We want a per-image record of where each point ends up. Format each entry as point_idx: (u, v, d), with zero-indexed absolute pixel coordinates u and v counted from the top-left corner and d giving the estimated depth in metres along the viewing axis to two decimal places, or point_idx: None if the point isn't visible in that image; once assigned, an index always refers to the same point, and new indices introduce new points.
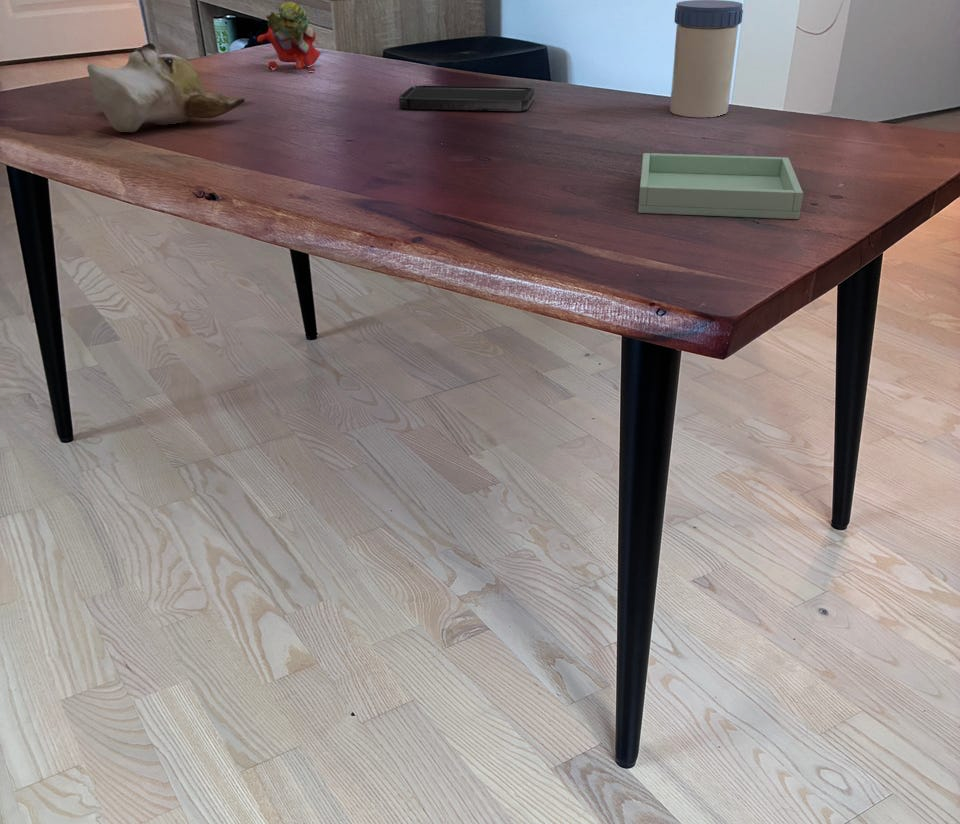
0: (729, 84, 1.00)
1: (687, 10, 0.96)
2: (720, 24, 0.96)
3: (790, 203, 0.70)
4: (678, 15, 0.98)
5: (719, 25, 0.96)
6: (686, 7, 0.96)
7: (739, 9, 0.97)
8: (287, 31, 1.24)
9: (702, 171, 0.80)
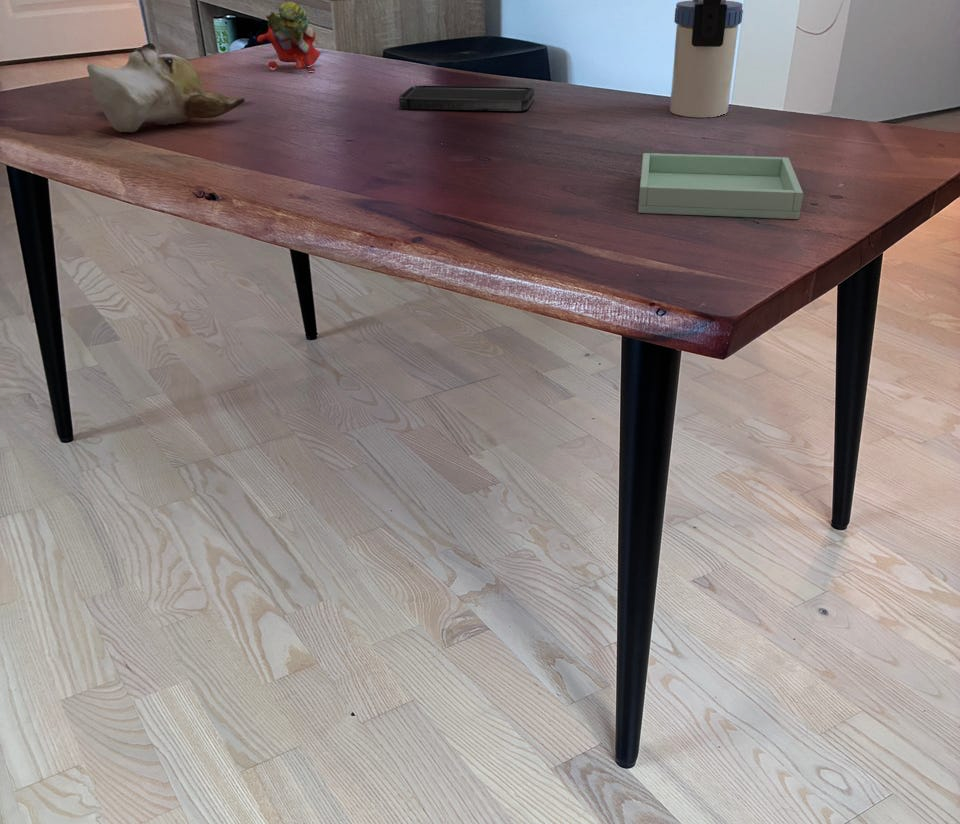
0: (729, 84, 1.00)
1: (687, 10, 0.96)
2: None
3: (790, 203, 0.70)
4: (678, 15, 0.98)
5: None
6: (686, 7, 0.96)
7: (739, 9, 0.97)
8: (287, 31, 1.24)
9: (702, 171, 0.80)
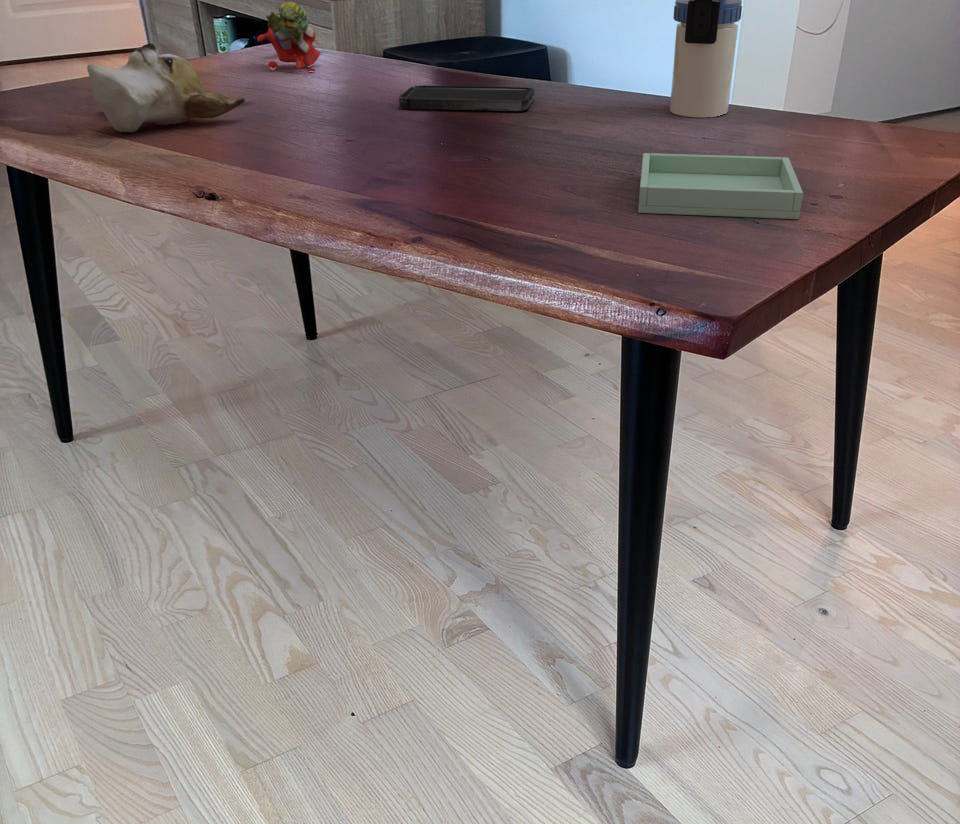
0: (729, 84, 1.00)
1: None
2: None
3: (790, 203, 0.70)
4: None
5: None
6: None
7: None
8: (287, 31, 1.24)
9: (702, 171, 0.80)
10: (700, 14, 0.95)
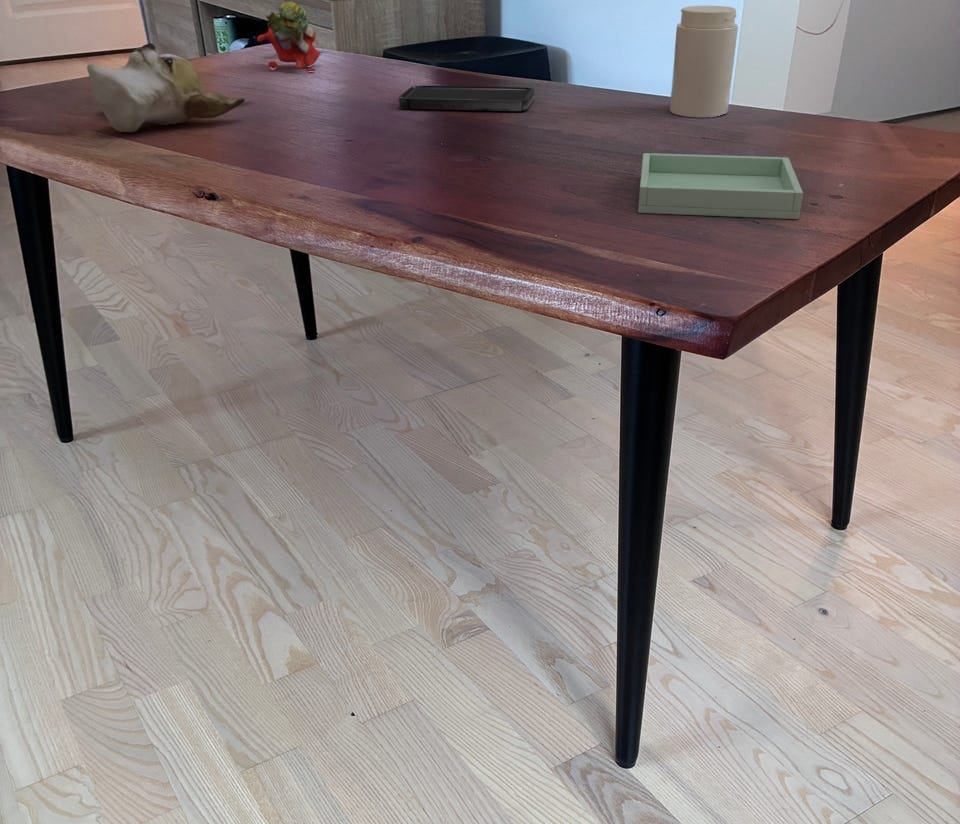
0: (729, 84, 1.00)
1: None
2: None
3: (790, 203, 0.70)
4: None
5: None
6: None
7: None
8: (287, 31, 1.24)
9: (702, 171, 0.80)
10: None
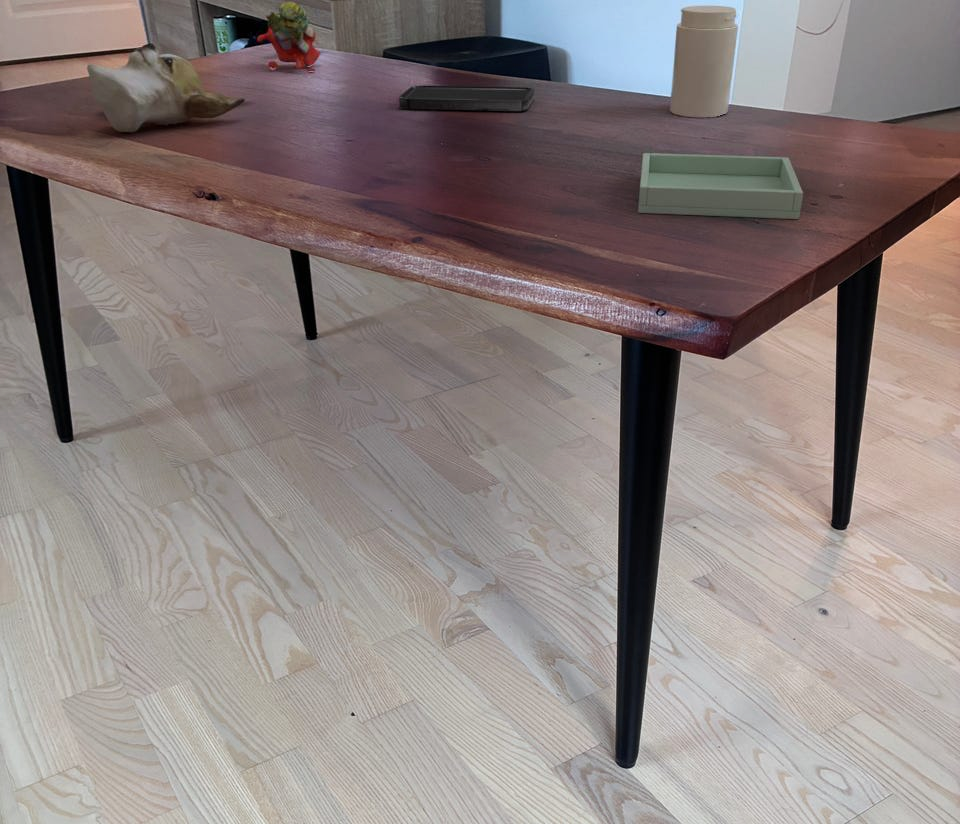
0: (729, 84, 1.00)
1: None
2: None
3: (790, 203, 0.70)
4: None
5: None
6: None
7: None
8: (287, 31, 1.24)
9: (702, 171, 0.80)
10: None
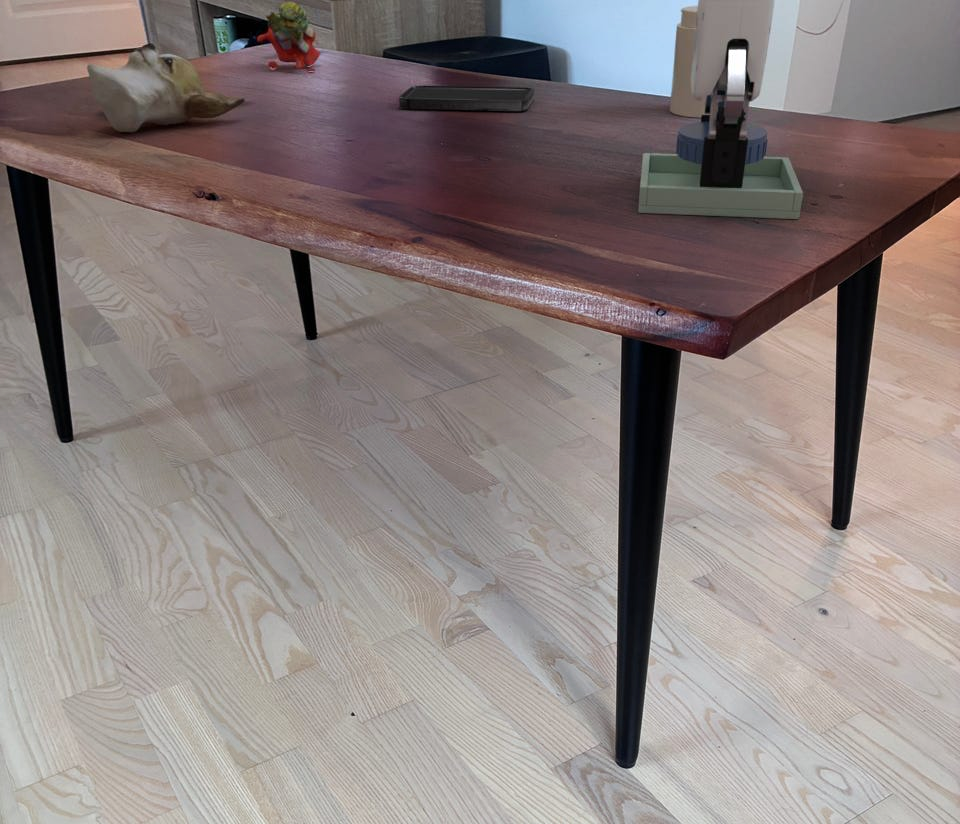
0: None
1: None
2: None
3: (790, 203, 0.70)
4: None
5: None
6: None
7: None
8: (287, 31, 1.24)
9: None
10: (722, 155, 0.70)
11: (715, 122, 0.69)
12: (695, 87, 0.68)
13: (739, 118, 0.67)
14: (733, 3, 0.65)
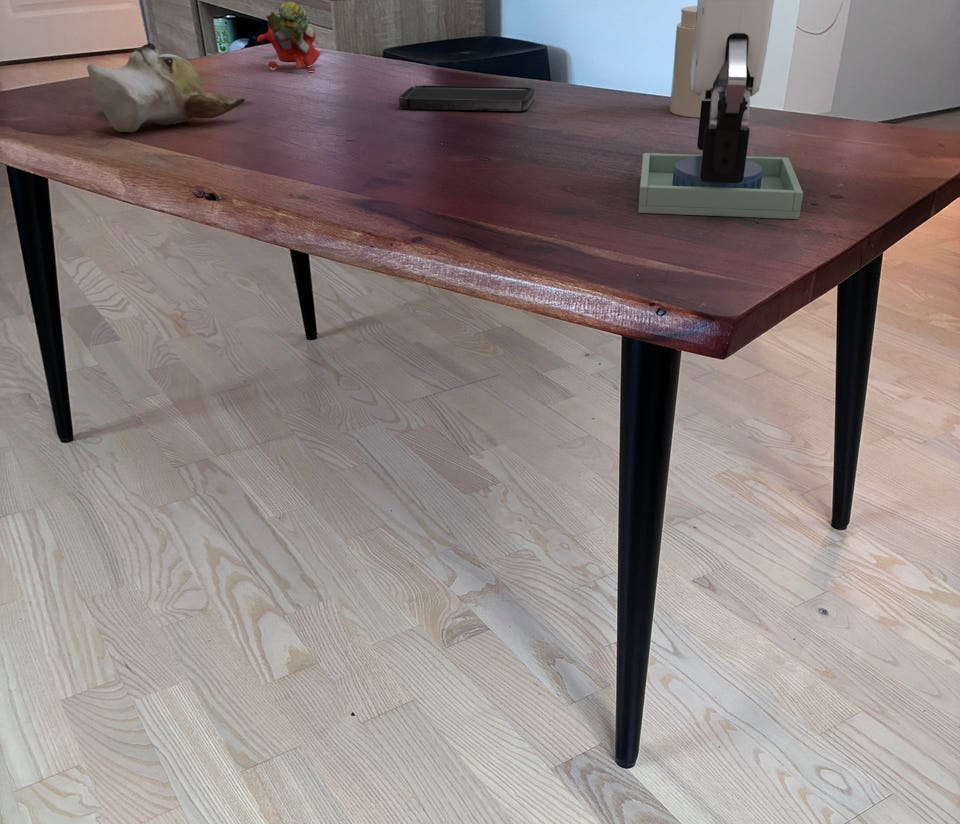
0: None
1: None
2: None
3: (790, 203, 0.70)
4: None
5: None
6: (746, 160, 0.77)
7: None
8: (287, 31, 1.24)
9: None
10: (723, 146, 0.69)
11: (716, 110, 0.68)
12: (695, 82, 0.68)
13: (741, 107, 0.65)
14: None
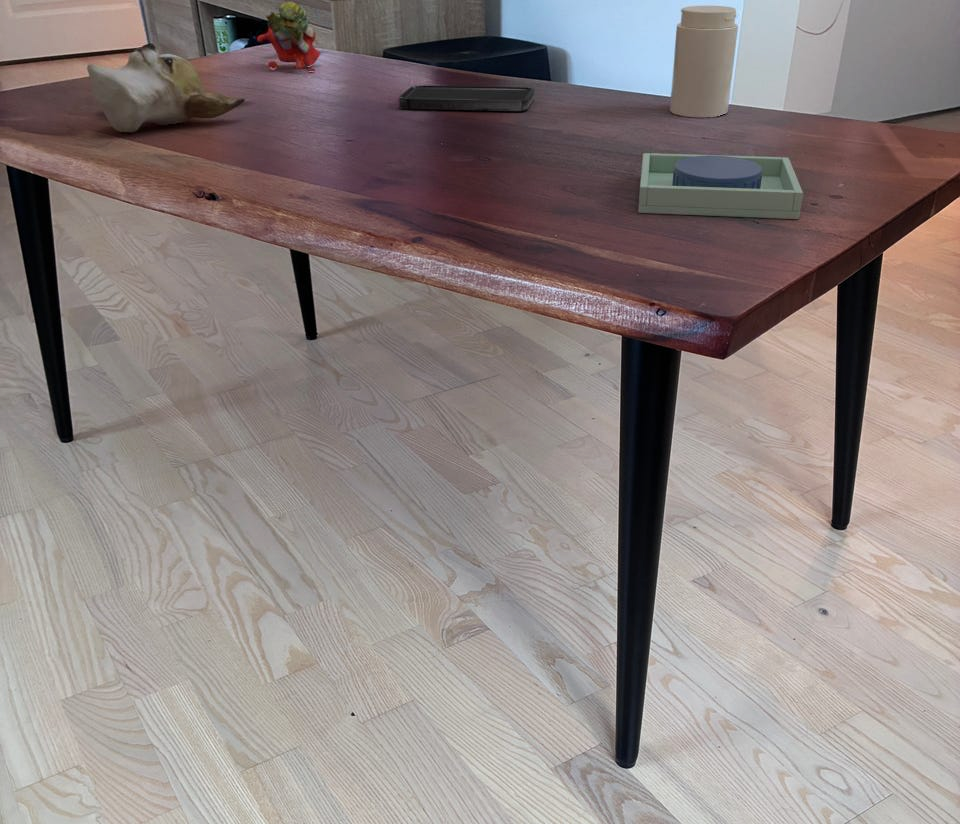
0: (729, 84, 1.00)
1: None
2: None
3: (790, 203, 0.70)
4: None
5: None
6: None
7: None
8: (287, 31, 1.24)
9: None
10: None
11: None
12: None
13: None
14: None
